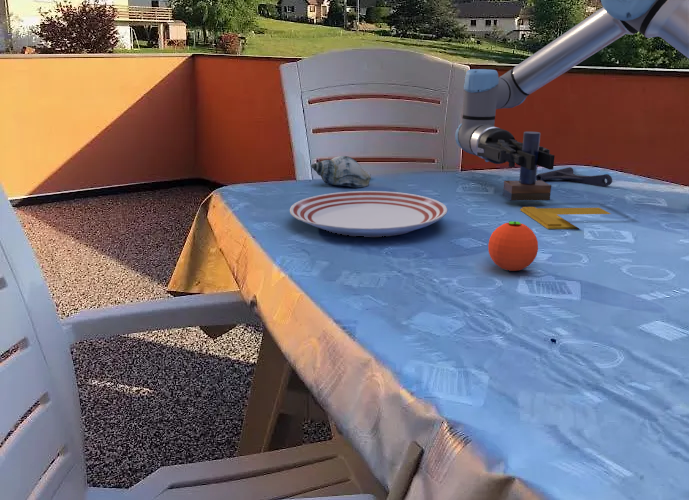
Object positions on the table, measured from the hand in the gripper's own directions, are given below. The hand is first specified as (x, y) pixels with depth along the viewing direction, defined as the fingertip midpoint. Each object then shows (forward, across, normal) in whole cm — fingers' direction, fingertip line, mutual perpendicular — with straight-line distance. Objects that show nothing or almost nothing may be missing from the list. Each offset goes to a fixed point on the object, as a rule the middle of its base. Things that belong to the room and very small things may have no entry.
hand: (542, 162), depth 135 cm
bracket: (-25, -23, -9) cm, 35 cm away
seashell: (-28, +33, -9) cm, 44 cm away
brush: (-5, 0, -8) cm, 10 cm away
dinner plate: (+6, +35, -9) cm, 37 cm away
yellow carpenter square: (+7, -4, -9) cm, 12 cm away
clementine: (+33, +21, -10) cm, 40 cm away
